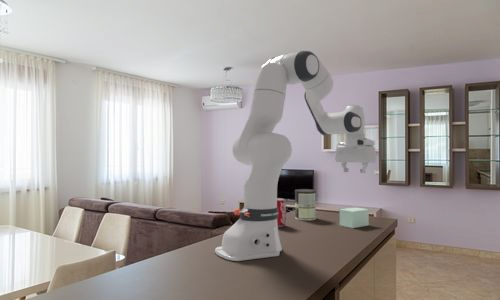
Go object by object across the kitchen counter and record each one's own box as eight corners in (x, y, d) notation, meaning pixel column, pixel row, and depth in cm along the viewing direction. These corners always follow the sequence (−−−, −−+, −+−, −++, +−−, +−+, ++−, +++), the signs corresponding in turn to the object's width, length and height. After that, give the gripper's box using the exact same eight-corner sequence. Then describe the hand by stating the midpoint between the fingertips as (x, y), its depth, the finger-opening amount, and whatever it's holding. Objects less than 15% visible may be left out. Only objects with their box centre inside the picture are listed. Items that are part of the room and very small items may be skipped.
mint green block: (352, 228, 147) (352, 211, 147) (339, 225, 153) (339, 209, 153) (368, 225, 153) (368, 209, 153) (355, 222, 159) (355, 207, 159)
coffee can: (290, 218, 170) (290, 189, 170) (304, 215, 176) (304, 188, 176) (306, 221, 162) (306, 191, 162) (320, 218, 168) (320, 190, 168)
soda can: (285, 224, 155) (285, 198, 155) (286, 227, 148) (285, 200, 148) (270, 224, 156) (270, 197, 156) (269, 227, 149) (269, 199, 149)
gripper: (332, 142, 160) (331, 171, 160) (368, 141, 143) (368, 173, 143) (341, 142, 164) (341, 171, 164) (378, 141, 147) (378, 173, 147)
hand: (354, 172), depth 153 cm, fingers open, 8 cm apart
